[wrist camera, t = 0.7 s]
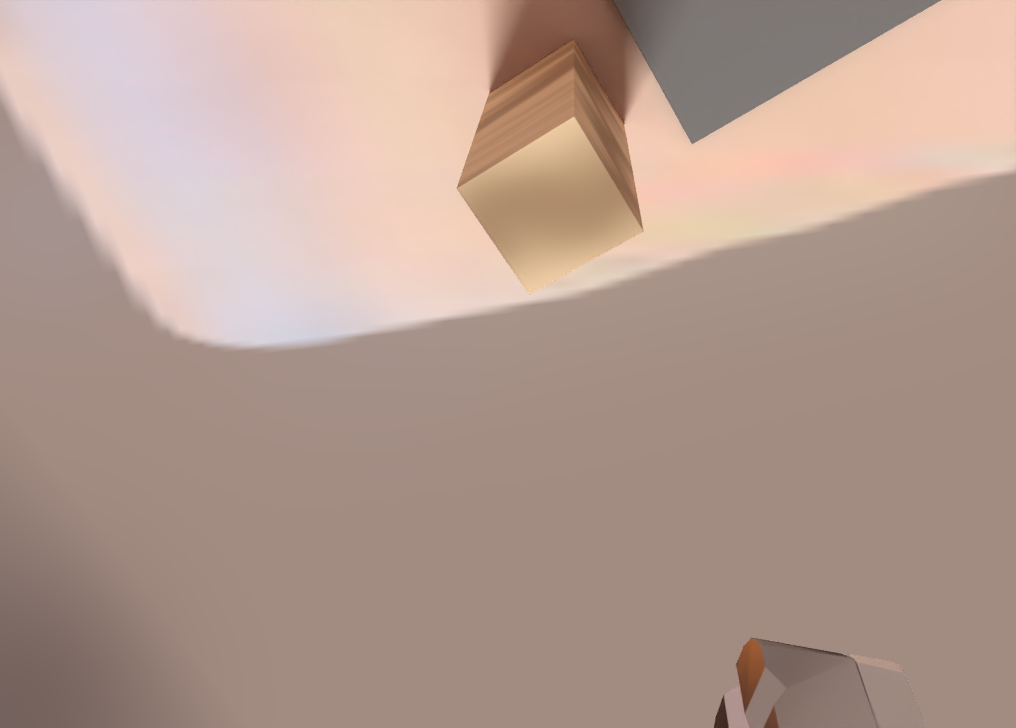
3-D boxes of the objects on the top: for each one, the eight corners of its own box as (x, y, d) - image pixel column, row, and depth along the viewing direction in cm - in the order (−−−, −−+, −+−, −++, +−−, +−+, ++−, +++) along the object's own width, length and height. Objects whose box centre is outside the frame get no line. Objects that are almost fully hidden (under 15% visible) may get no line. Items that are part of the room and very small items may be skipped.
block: (487, 94, 47) (454, 190, 34) (573, 38, 45) (574, 116, 32) (539, 175, 49) (527, 296, 36) (624, 125, 47) (643, 231, 34)
